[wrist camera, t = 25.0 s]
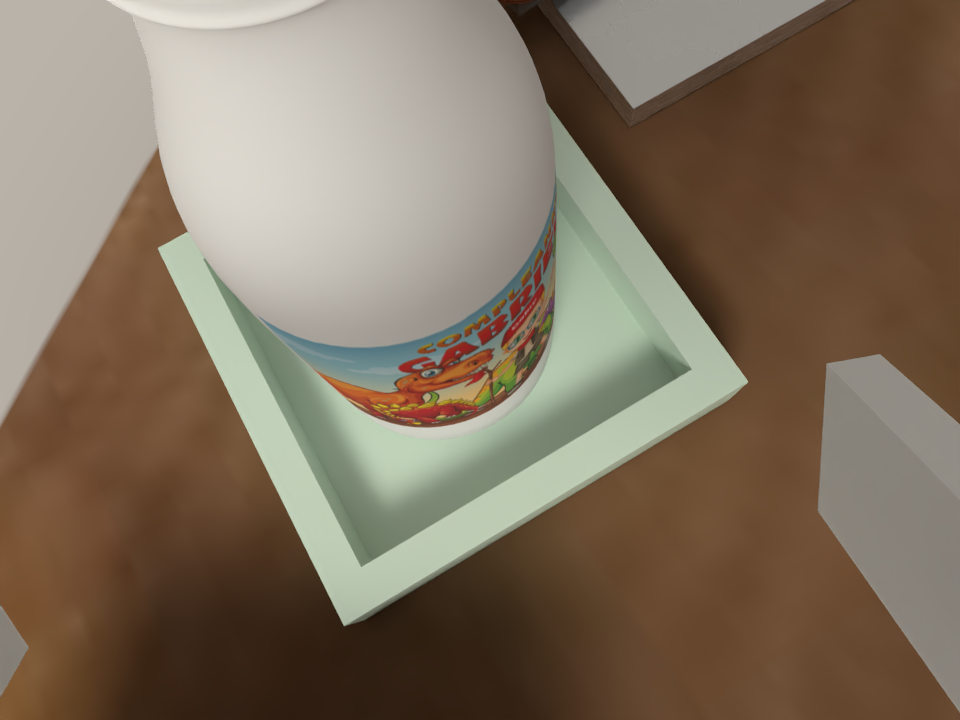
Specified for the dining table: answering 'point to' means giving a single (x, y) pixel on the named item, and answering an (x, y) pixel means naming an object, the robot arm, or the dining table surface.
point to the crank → (520, 5)
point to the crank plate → (672, 42)
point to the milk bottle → (369, 191)
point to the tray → (488, 453)
